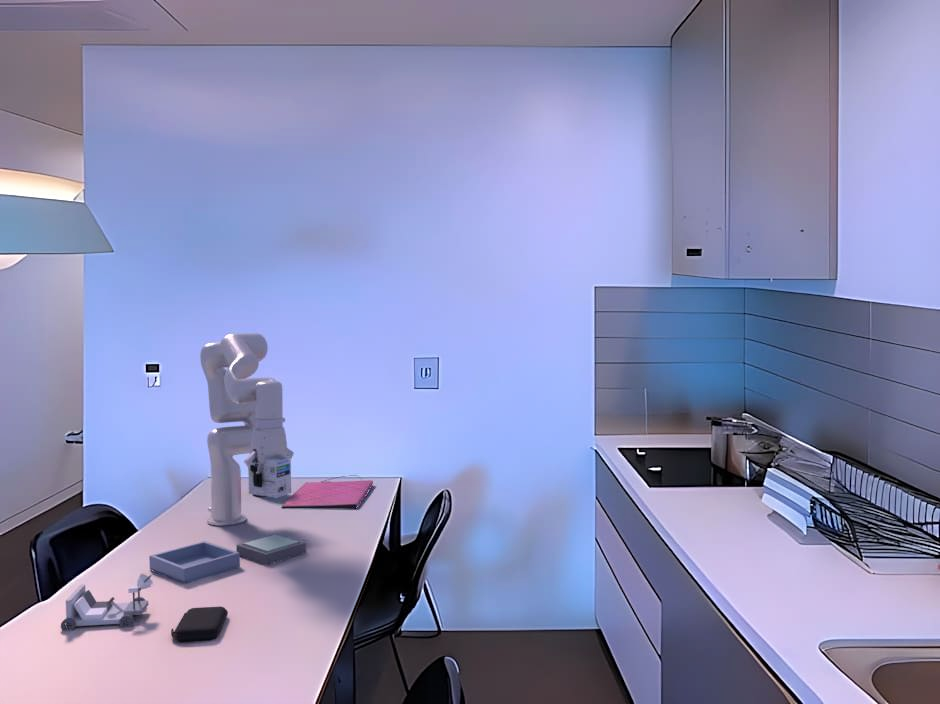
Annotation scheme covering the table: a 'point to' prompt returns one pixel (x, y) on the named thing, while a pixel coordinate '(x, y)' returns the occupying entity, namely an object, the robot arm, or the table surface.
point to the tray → (194, 561)
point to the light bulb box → (273, 478)
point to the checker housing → (271, 556)
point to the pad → (271, 543)
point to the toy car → (104, 607)
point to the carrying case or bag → (200, 624)
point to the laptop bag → (329, 494)
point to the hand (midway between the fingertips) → (269, 483)
